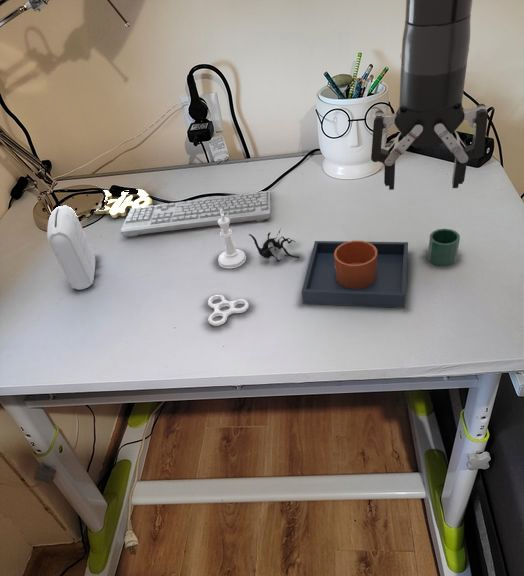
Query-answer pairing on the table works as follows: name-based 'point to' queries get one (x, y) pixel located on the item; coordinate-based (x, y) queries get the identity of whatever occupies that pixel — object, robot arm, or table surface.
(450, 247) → the small bowl
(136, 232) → the keyboard
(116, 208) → the lettering
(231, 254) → the chess piece
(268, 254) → the creature
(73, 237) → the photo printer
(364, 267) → the big bowl
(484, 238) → the table surface
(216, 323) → the fidget spinner
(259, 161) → the table surface
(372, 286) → the tray
